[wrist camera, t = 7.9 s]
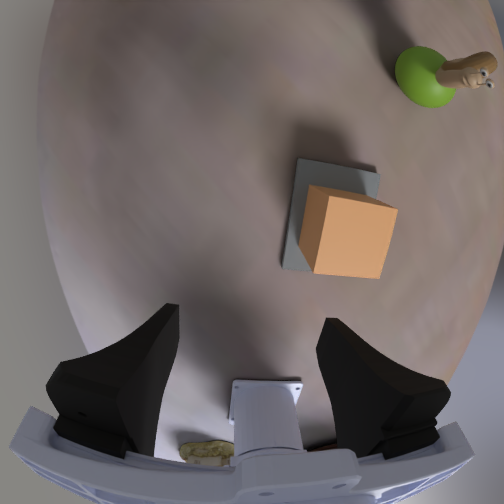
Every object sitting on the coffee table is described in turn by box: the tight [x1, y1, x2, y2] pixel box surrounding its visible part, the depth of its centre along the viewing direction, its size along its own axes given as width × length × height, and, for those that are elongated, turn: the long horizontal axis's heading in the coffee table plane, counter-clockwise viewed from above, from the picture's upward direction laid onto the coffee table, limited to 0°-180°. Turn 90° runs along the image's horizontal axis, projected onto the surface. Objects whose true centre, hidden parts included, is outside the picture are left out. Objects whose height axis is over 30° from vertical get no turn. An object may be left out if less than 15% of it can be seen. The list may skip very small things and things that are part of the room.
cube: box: [298, 185, 398, 279], centre depth 19 cm, size 5×5×5 cm
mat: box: [281, 158, 381, 271], centre depth 21 cm, size 9×7×1 cm
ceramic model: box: [179, 441, 234, 467], centre depth 31 cm, size 14×11×10 cm
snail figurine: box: [395, 46, 497, 108], centre depth 12 cm, size 5×6×12 cm
